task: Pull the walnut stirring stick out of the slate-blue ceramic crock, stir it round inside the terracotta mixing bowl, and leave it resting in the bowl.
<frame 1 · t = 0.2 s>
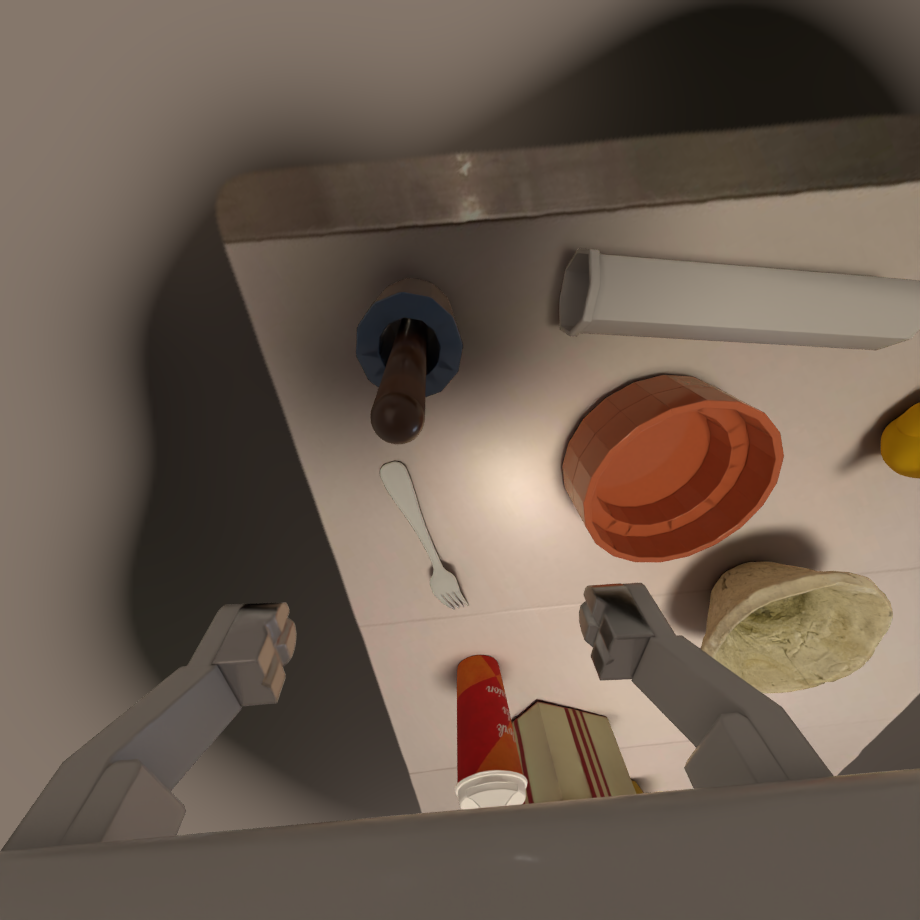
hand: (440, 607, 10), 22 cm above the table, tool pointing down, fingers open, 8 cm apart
paper cup: (477, 665, 50), on the table
crock: (414, 321, 27), on the table
mixing bowl: (643, 453, 34), on the table
gift box: (555, 727, 61), on the table
fork: (430, 543, 38), on the table
duckling: (898, 421, 35), on the table
bowl: (741, 581, 45), on the table
stirring stick: (414, 322, 26), point 1 cm above the table, touching crock
tube: (723, 299, 28), on the table
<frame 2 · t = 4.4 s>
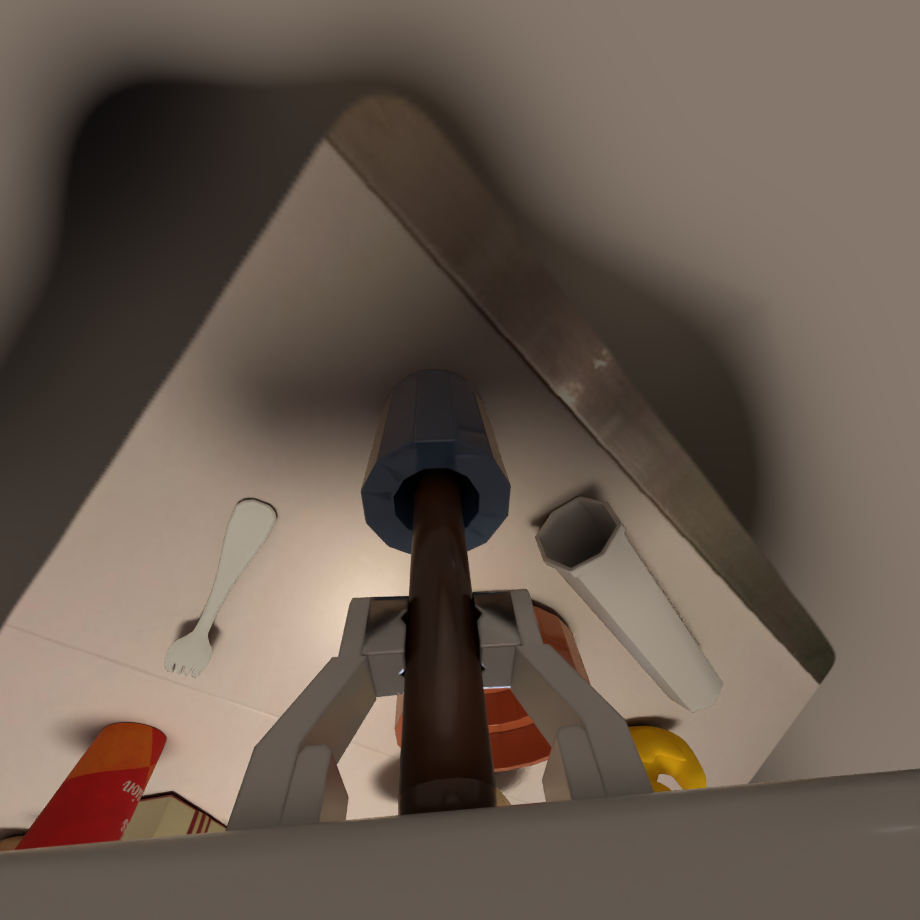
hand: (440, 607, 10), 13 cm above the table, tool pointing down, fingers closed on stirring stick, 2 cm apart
paper cup: (136, 734, 36), on the table
crock: (434, 417, 21), on the table
mixing bowl: (487, 653, 33), on the table
gift box: (164, 821, 48), on the table
fork: (218, 598, 28), on the table
duckling: (630, 726, 43), on the table
stirring stick: (434, 422, 21), point 1 cm above the table, touching crock, gripper
tube: (631, 596, 31), on the table
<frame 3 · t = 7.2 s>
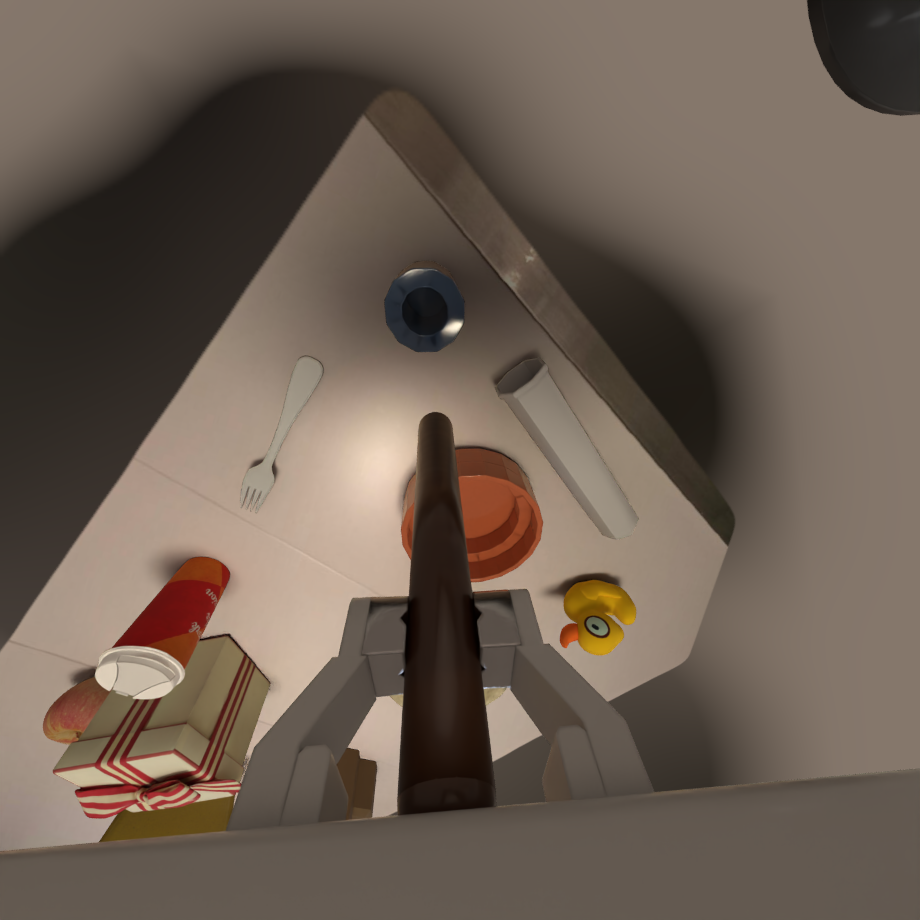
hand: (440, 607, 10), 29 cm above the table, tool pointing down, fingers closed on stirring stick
paper cup: (208, 570, 49), on the table
crock: (426, 296, 33), on the table
mixing bowl: (467, 500, 45), on the table
gift box: (218, 669, 60), on the table
flower pot: (197, 760, 75), on the table
candle: (343, 760, 80), on the table
fork: (278, 441, 40), on the table
apple: (112, 679, 60), on the table
duckling: (583, 584, 55), on the table
bowl: (446, 627, 58), on the table
stirring stick: (435, 421, 21), point 17 cm above the table, touching gripper
tube: (570, 451, 43), on the table
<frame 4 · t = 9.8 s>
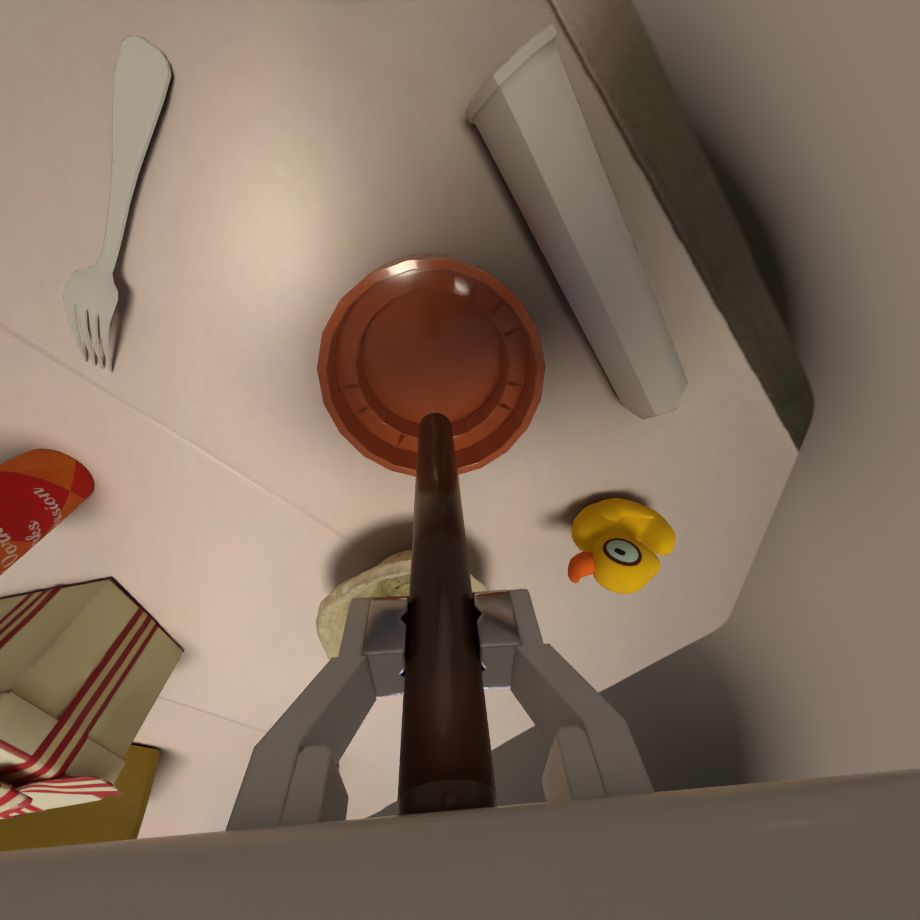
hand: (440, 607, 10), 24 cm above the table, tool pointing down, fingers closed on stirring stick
paper cup: (60, 474, 34), on the table
mixing bowl: (433, 359, 31), on the table
gift box: (109, 631, 45), on the table
flower pot: (109, 755, 60), on the table
fork: (123, 233, 25), on the table
duckling: (598, 509, 40), on the table
bowl: (414, 572, 43), on the table
stirring stick: (435, 422, 21), point 12 cm above the table, touching gripper
tube: (586, 273, 28), on the table
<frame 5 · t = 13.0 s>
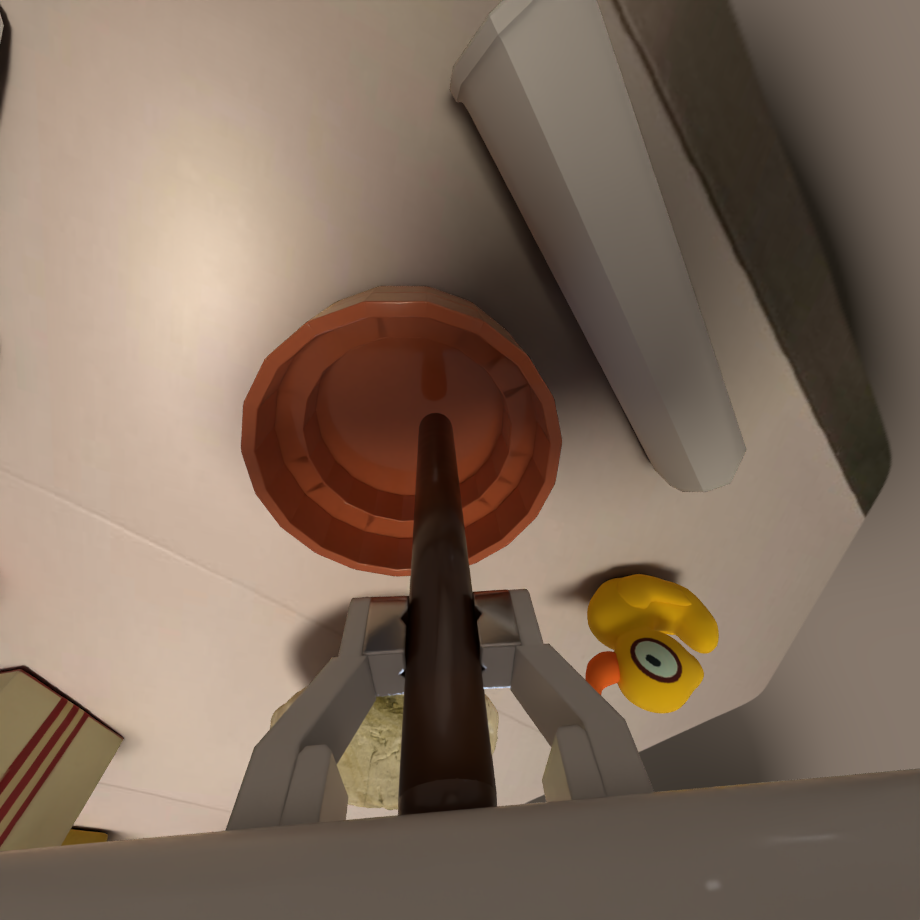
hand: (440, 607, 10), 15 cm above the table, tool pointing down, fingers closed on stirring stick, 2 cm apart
mixing bowl: (412, 417, 23), on the table
gift box: (31, 720, 38), on the table
flower pot: (50, 838, 53), on the table
duckling: (618, 583, 33), on the table
bowl: (395, 653, 36), on the table
stirring stick: (435, 422, 21), point 3 cm above the table, touching gripper
tube: (615, 309, 21), on the table
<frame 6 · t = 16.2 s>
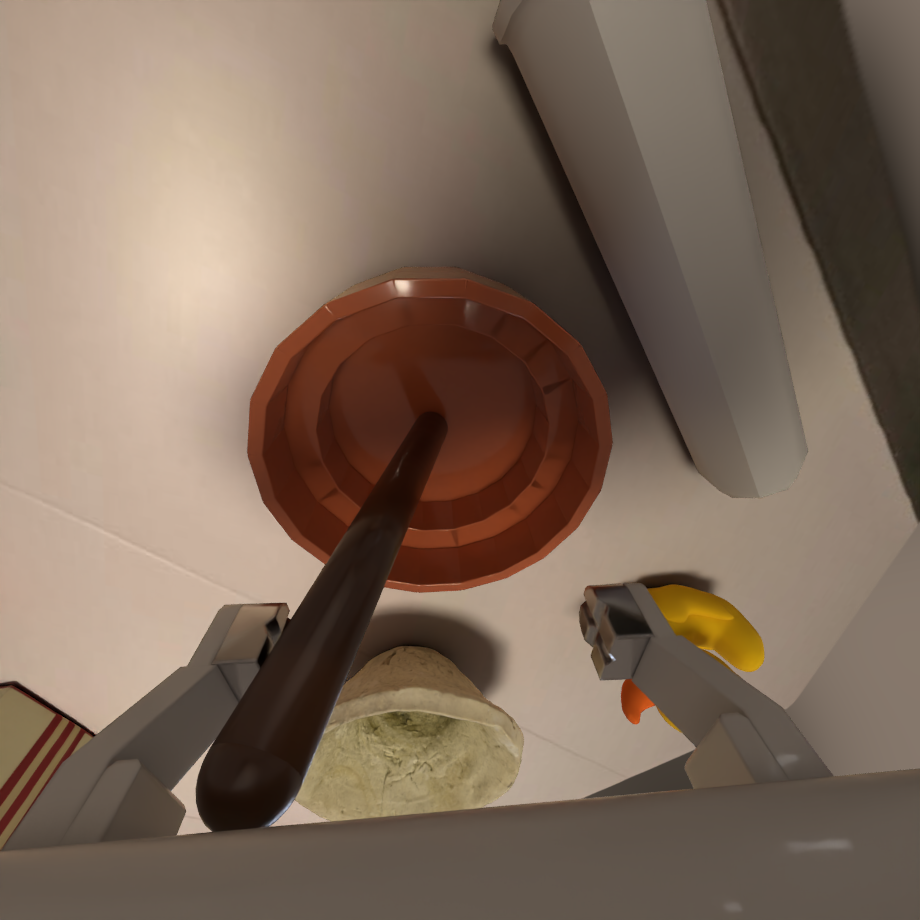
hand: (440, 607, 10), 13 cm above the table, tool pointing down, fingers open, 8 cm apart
mixing bowl: (434, 415, 21), on the table
gift box: (25, 736, 36), on the table
duckling: (648, 593, 31), on the table
bowl: (409, 666, 34), on the table
stirring stick: (434, 421, 21), point 1 cm above the table, tilted 12°, touching gripper, mixing bowl
tube: (664, 294, 19), on the table
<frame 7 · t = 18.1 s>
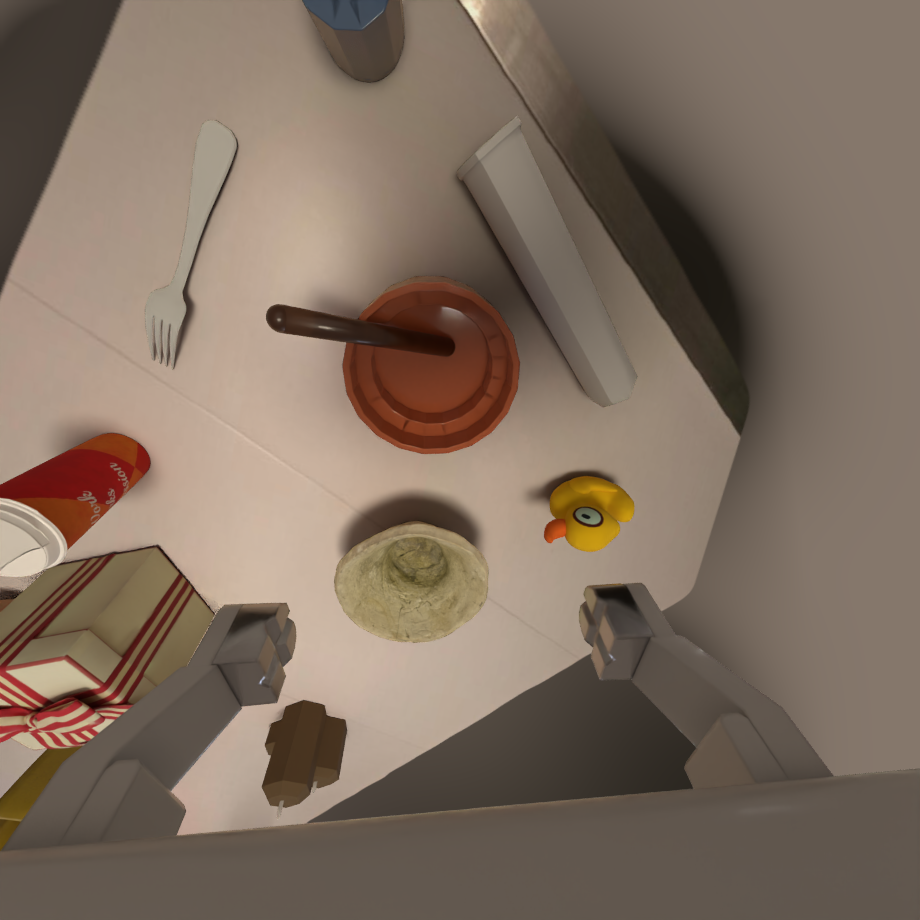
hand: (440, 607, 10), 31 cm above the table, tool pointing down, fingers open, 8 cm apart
paper cup: (123, 454, 41), on the table
crock: (363, 26, 26), on the table
mixing bowl: (432, 359, 38), on the table
gift box: (151, 595, 52), on the table
flower pot: (140, 716, 67), on the table
candle: (308, 718, 71), on the table
fork: (191, 260, 32), on the table
duckling: (572, 487, 47), on the table
bowl: (416, 543, 50), on the table
stirring stick: (452, 348, 36), point 1 cm above the table, tilted 53°, touching mixing bowl
tube: (554, 290, 35), on the table
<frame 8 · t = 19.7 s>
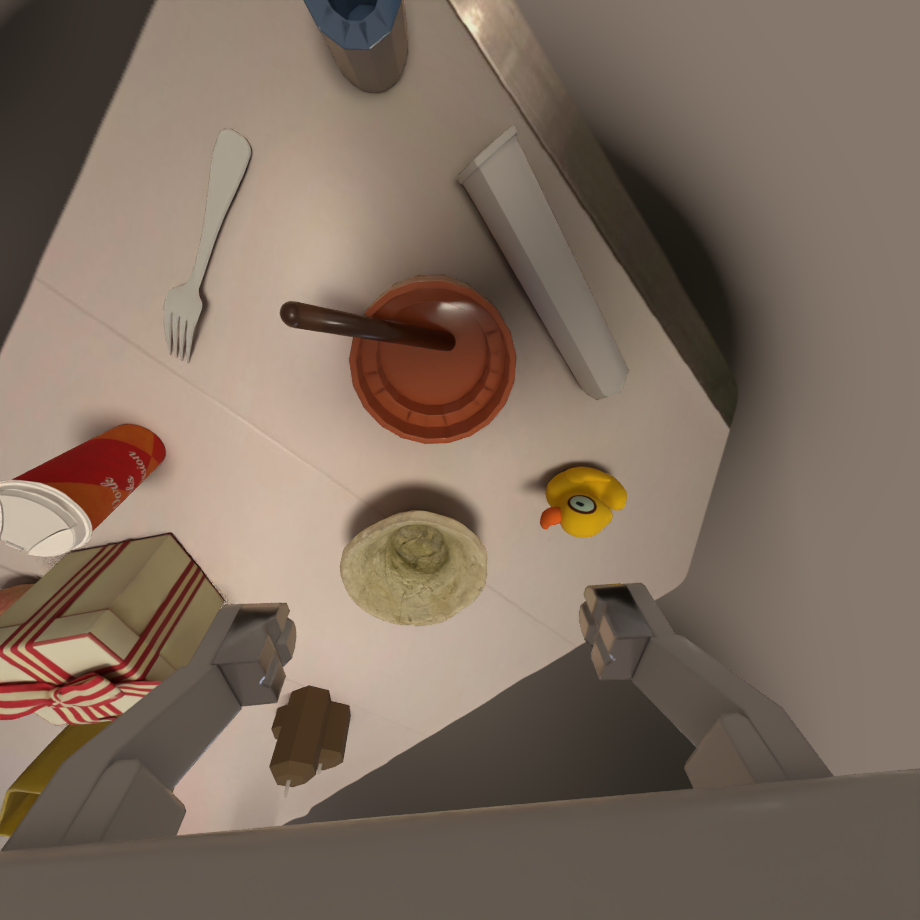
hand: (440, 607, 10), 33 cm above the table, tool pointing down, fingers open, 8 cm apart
paper cup: (140, 444, 43), on the table
crock: (369, 41, 27), on the table
mixing bowl: (433, 353, 40), on the table
gift box: (164, 581, 54), on the table
flower pot: (152, 700, 69), on the table
candle: (313, 703, 74), on the table
fork: (206, 260, 34), on the table
apple: (44, 592, 54), on the table
duckling: (568, 477, 49), on the table
bowl: (417, 531, 52), on the table
stirring stick: (453, 343, 38), point 1 cm above the table, tilted 53°, touching mixing bowl
tube: (550, 288, 37), on the table
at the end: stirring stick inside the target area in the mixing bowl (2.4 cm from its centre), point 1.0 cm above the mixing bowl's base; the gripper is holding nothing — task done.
